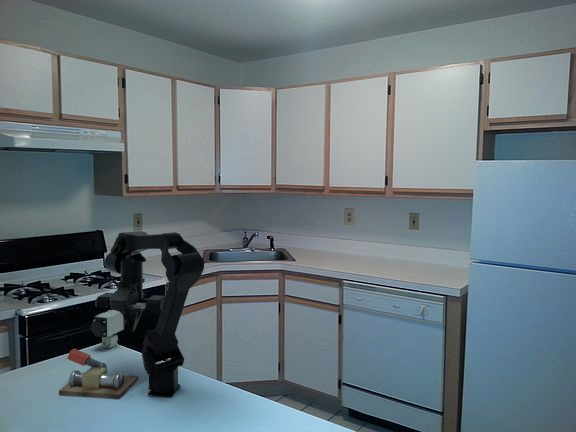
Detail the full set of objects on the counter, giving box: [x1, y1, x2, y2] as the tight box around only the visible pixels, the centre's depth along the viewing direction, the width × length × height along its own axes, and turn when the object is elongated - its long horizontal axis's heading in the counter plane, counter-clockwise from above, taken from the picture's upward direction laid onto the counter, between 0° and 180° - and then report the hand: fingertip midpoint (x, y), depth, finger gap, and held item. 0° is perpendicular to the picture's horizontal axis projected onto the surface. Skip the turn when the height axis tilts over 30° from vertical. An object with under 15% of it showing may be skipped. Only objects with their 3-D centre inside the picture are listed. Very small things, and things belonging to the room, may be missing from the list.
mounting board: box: [58, 371, 140, 400], centre depth 118 cm, size 16×11×1 cm
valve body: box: [68, 367, 125, 390], centre depth 116 cm, size 13×4×4 cm, turn 84°
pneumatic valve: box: [90, 309, 127, 349], centre depth 147 cm, size 6×12×12 cm, turn 161°
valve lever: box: [66, 348, 108, 369], centre depth 120 cm, size 2×2×11 cm
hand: (132, 331), depth 126 cm, fingers closed
